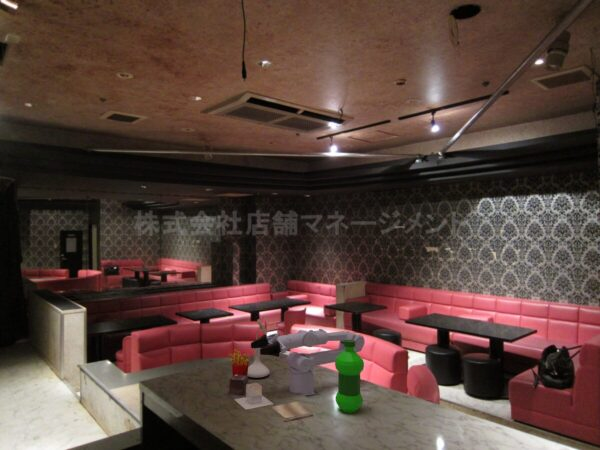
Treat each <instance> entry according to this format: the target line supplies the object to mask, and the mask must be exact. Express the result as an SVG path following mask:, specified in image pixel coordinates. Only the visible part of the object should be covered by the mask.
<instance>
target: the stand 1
mask: <svg viewBox="0 0 600 450" xmlns="http://www.w3.org/2000/svg"><path fill="white" fill-rule="evenodd" d="M234 401H235V402H237V403H238V404H239V405H240V406H241V407H242V408H244V410H250V409H251V410H252V409H255V408H261V407H266V406H272V405H274V403H273V402H271V401H270V400H269V399H268V398H266V397H265V396H264V395H262V403H257V404H252V405H250V404H249V403H248V402H247V401H246V396H245V397H239V398H234Z"/></svg>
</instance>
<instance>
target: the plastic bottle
mask: <svg viewBox="0 0 600 450" xmlns="http://www.w3.org/2000/svg"><path fill="white" fill-rule="evenodd" d="M355 344H356V341H355V340H344V346H345V351H343V352H342V353H341V354H340V355H339V356H338V357H336V360H335V362H334V367H335V369H336V370H337V372H338V374H337V375H338V383H337V384H338V386H337V390H338V391H337V393H336V395H335V402H336V403H335V404H336V405H337V406H338V407H339V409H340V410H341V411H342V412H344V413H346V414H353V412H354V413H356V411H358V410H359V409H360V408H361V406H362V405H363V402H364V401H363V396H362V394H361V373H362V372H363V371H364V367H365V362H364V359H363V357H362V356H361V355H359V354H358V352H355V351H354V347H355Z"/></svg>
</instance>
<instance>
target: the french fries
mask: <svg viewBox="0 0 600 450" xmlns="http://www.w3.org/2000/svg"><path fill="white" fill-rule="evenodd" d="M248 356H250V354H249V353H246V354H245V353H244V354H243V356H242V353H241V351H239V350H237V349H234V352H233V354H232V353H229V354H228V357H230V358H231V359H230V362H231V363H232V365H231V368H232V369H231V370H232V371H231V372H232V377H233V376H234V375H248V367H249V366H250V360H249V359H248V358H247V357H248Z"/></svg>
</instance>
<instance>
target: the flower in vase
mask: <svg viewBox="0 0 600 450" xmlns="http://www.w3.org/2000/svg"><path fill="white" fill-rule="evenodd" d="M257 325H258V326H259V328H258V331H256V335H255V339H256V340H257V339H259V338H258V334H259V332H260V330H261V331H262V332H263V334H265V335H267V334H268V332H267V329H266V328H265V325H264V324H263V322H262V320H260V319H257ZM260 349H261V348H253V350H254V361H253V362H252V363H251V364H249V365H248V375H247V376H249V377H250V378H258V379H260V378H264V377H267V376H268V375H269V374H270V369H269V368H268V367H267V366H266V365H265V364H263V363H262V361H261V354H260ZM249 377H248V378H249Z"/></svg>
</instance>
